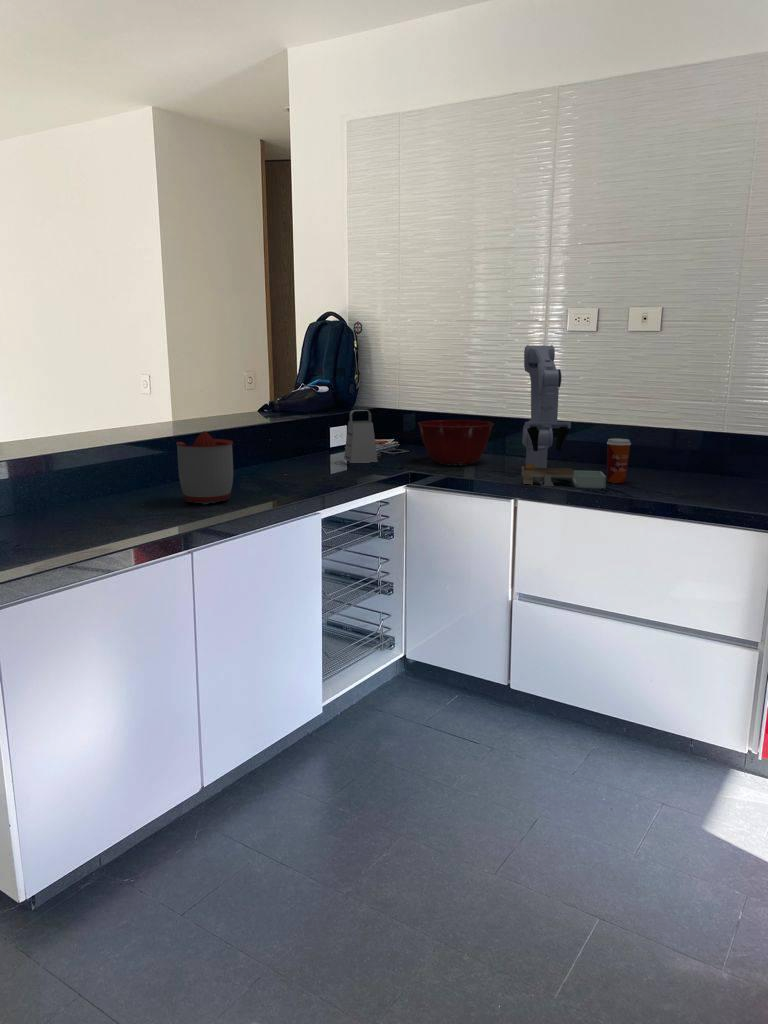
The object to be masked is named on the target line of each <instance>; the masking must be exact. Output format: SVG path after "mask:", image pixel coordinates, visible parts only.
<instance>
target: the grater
mask: <svg viewBox="0 0 768 1024" xmlns="http://www.w3.org/2000/svg"><path fill="white" fill-rule="evenodd" d="M365 411H367V413H368V420H353V414H354V413H355V412H365ZM375 436H376V435H375V430H374V423H373V422H372V412H371V411H370V410H368V409H355V410H354V409H353V410H351V411H350V412H349V421H348V422H347V431H346V440H345V448H344V455H343V456H344V457H343V460H344V459H346V460H347V461H349V462H350V463H370V462H378V463H379V461H378V453H377V446H376V438H375Z"/></svg>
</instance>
